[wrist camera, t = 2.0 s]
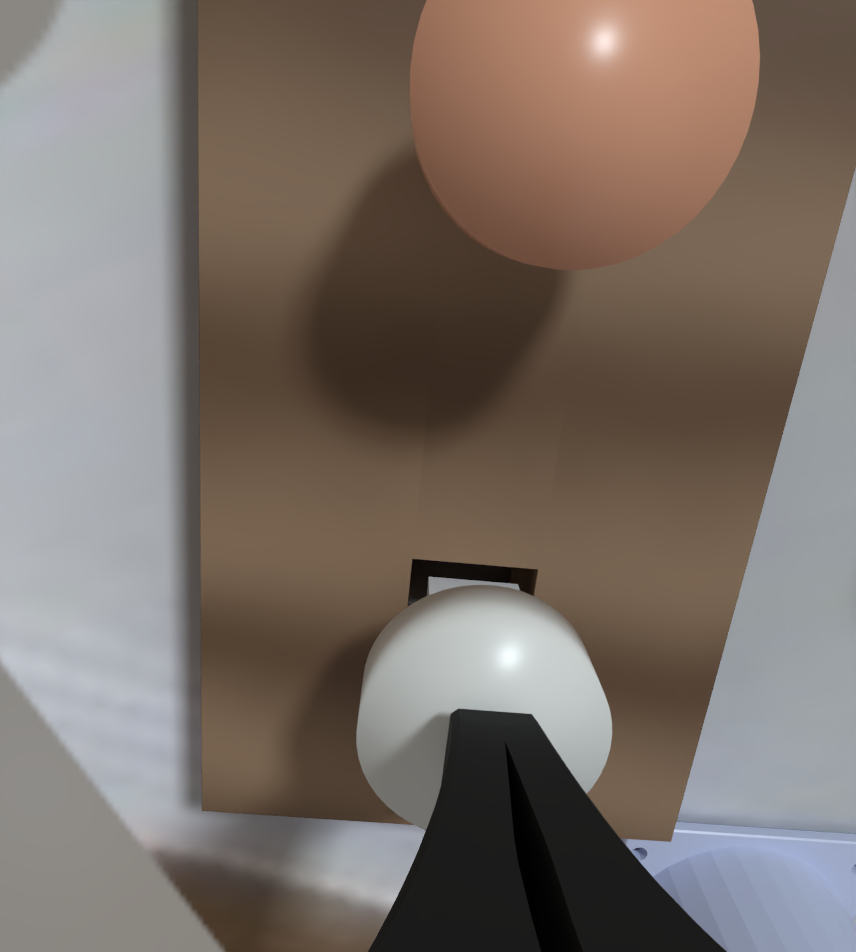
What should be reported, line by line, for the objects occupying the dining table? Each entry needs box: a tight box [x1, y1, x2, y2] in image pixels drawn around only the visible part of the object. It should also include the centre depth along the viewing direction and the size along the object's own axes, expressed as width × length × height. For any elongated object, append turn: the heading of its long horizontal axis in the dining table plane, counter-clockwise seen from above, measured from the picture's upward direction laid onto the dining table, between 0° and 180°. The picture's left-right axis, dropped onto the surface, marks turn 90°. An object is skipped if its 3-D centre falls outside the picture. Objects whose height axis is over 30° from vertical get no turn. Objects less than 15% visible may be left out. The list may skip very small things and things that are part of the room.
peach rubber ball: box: [410, 0, 760, 270], centre depth 11 cm, size 4×4×4 cm
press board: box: [198, 0, 856, 842], centre depth 15 cm, size 22×12×3 cm, turn 174°
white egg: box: [356, 577, 612, 830], centre depth 14 cm, size 4×4×4 cm
